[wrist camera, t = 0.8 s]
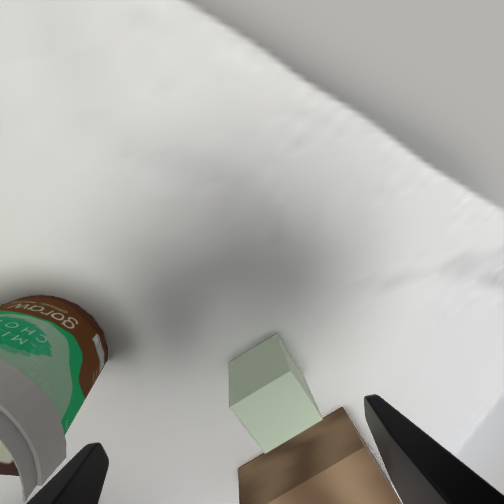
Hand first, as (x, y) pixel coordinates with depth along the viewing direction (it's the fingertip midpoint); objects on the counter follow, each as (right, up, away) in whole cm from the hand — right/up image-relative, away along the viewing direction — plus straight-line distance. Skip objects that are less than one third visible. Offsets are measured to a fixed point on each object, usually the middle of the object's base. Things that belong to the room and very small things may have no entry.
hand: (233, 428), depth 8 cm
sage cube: (+2, -5, +14) cm, 15 cm away
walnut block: (+7, -17, +17) cm, 26 cm away
